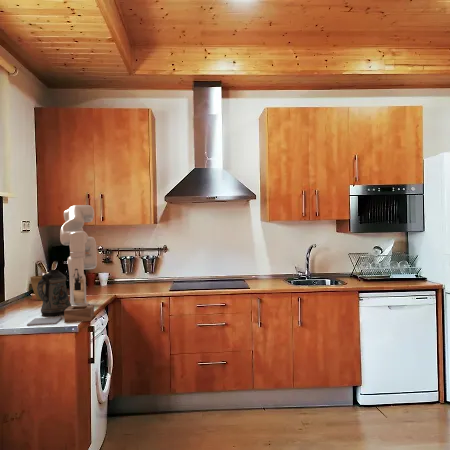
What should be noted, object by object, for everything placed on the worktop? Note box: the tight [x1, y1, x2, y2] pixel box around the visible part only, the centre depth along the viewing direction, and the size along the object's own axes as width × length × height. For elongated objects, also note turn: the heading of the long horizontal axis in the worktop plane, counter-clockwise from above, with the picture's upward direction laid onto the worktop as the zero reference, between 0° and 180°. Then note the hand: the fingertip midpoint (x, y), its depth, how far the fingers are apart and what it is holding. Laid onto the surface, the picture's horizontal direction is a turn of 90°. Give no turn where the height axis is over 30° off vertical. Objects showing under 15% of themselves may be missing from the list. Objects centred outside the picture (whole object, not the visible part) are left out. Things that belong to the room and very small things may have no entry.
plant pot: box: [30, 274, 45, 301], centre depth 303 cm, size 15×15×16 cm
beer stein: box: [37, 269, 72, 318], centre depth 250 cm, size 16×19×25 cm
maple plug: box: [73, 279, 85, 303], centre depth 235 cm, size 5×5×12 cm
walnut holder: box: [63, 304, 95, 323], centre depth 235 cm, size 13×13×6 cm
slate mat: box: [26, 316, 63, 327], centre depth 231 cm, size 14×14×1 cm
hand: (78, 288), depth 235 cm, fingers closed on maple plug, 5 cm apart
